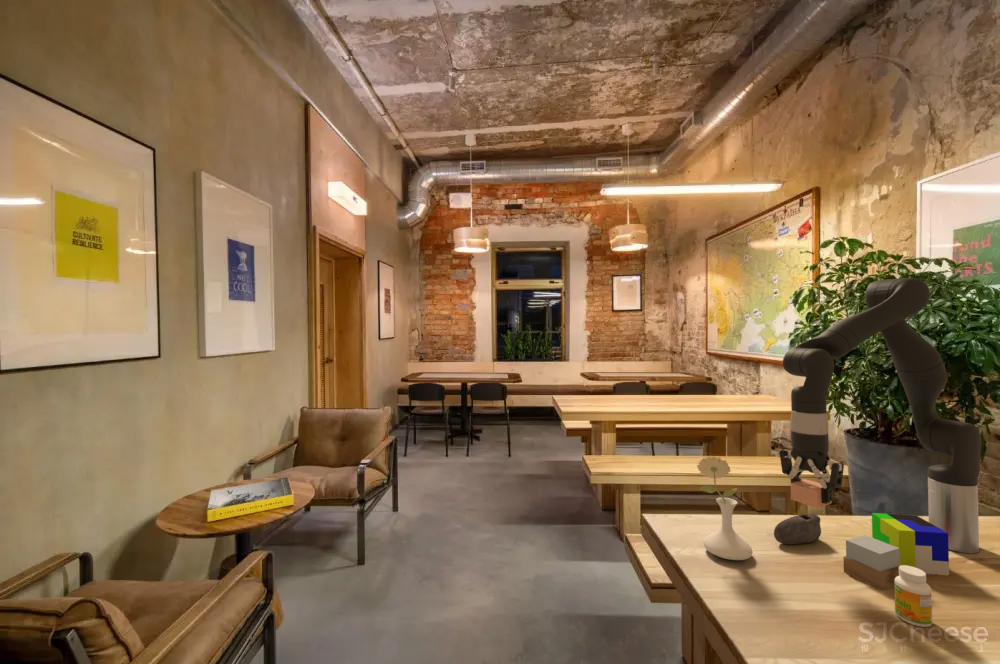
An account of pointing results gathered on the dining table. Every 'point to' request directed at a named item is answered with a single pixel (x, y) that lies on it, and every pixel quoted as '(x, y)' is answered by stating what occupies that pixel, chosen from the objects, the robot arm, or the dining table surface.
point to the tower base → (871, 574)
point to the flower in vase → (723, 515)
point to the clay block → (807, 493)
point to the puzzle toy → (914, 541)
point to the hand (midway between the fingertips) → (810, 497)
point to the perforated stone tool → (798, 529)
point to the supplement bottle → (913, 596)
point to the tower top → (873, 553)
